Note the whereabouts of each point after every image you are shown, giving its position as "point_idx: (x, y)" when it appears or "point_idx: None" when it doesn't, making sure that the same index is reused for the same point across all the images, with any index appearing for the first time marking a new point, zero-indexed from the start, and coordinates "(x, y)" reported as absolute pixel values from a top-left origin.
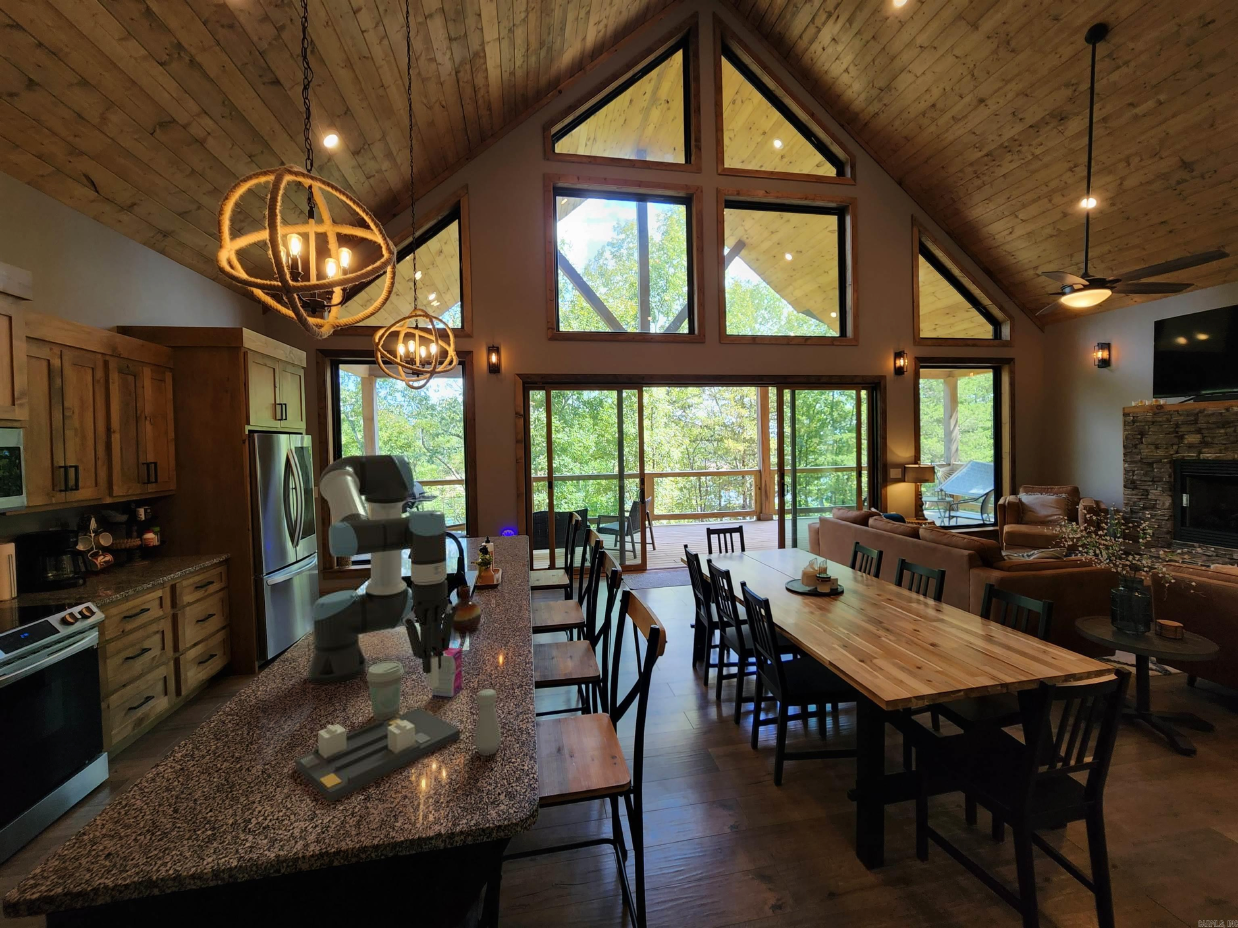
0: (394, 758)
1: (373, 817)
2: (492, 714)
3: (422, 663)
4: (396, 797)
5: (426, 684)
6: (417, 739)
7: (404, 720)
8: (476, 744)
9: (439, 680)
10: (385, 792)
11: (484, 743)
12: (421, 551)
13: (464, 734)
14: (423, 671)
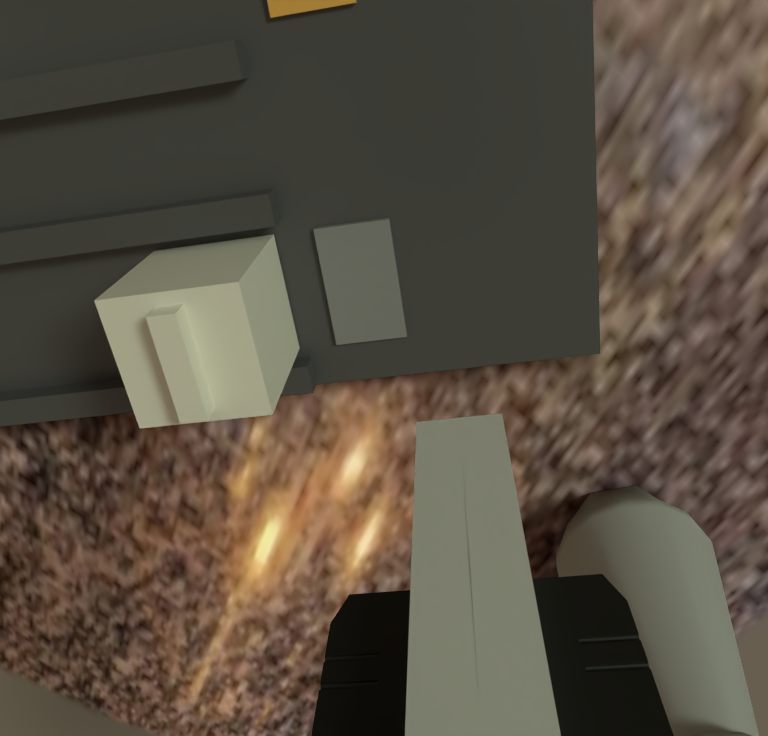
0: None
1: (50, 592)
2: None
3: (313, 729)
4: (146, 550)
5: (416, 431)
6: (335, 287)
7: (231, 286)
8: (558, 571)
9: None
10: (111, 495)
11: None
12: None
13: (632, 309)
14: (344, 612)
